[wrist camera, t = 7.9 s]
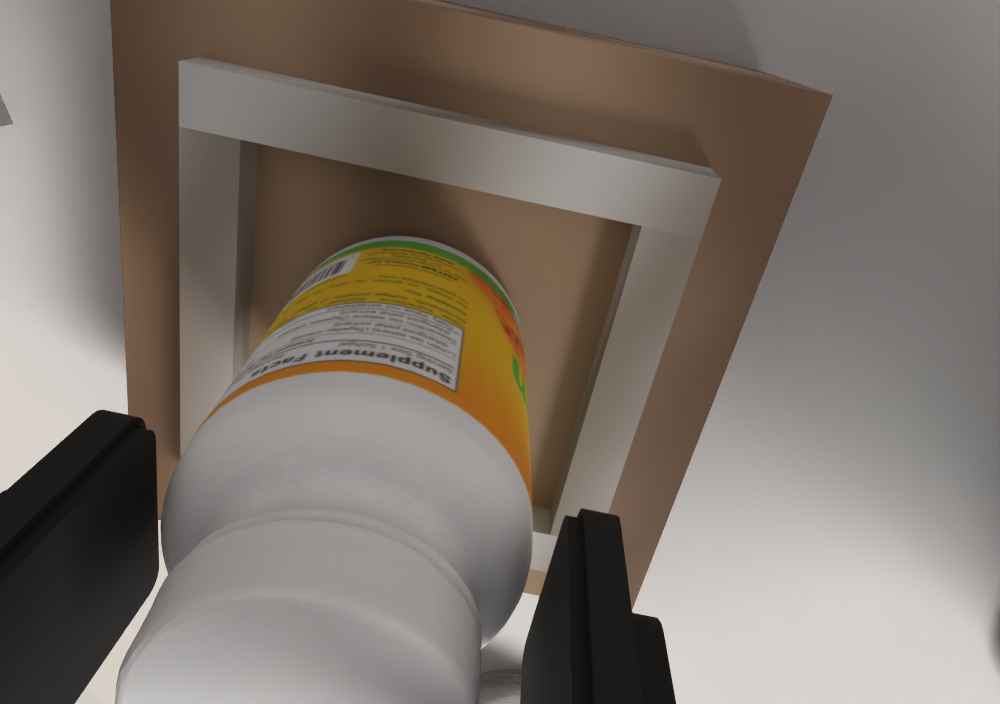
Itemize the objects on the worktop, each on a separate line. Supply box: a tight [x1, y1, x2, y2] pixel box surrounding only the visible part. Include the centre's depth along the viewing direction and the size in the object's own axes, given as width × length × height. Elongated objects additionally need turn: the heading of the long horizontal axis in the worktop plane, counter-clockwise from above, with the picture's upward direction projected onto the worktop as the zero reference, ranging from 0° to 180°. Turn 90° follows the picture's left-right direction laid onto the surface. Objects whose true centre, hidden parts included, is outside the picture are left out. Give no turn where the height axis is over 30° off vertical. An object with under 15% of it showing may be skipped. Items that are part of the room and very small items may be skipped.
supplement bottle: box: [115, 236, 533, 704], centre depth 12 cm, size 5×5×10 cm
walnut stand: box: [110, 0, 833, 609], centre depth 18 cm, size 14×14×6 cm
